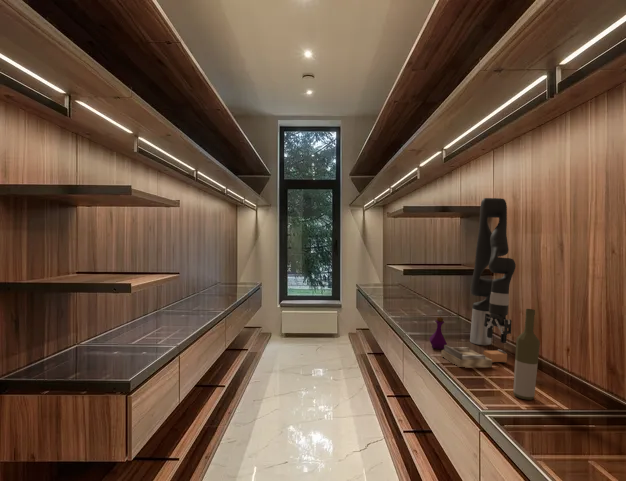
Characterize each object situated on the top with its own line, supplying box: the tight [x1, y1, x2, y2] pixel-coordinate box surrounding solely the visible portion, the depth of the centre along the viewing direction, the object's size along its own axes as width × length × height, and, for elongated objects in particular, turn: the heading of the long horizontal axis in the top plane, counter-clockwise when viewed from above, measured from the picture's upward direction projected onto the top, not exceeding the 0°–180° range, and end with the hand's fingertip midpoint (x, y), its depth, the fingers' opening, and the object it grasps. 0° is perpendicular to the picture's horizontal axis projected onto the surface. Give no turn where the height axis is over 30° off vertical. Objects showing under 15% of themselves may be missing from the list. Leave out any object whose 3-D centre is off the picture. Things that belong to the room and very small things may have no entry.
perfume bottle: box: [428, 309, 448, 350], centre depth 190 cm, size 8×8×18 cm
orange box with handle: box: [482, 348, 508, 364], centre depth 174 cm, size 8×5×5 cm, turn 104°
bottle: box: [512, 308, 541, 401], centre depth 135 cm, size 7×7×30 cm
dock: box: [440, 345, 493, 369], centre depth 171 cm, size 15×14×6 cm
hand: (496, 340), depth 174 cm, fingers open, 8 cm apart
